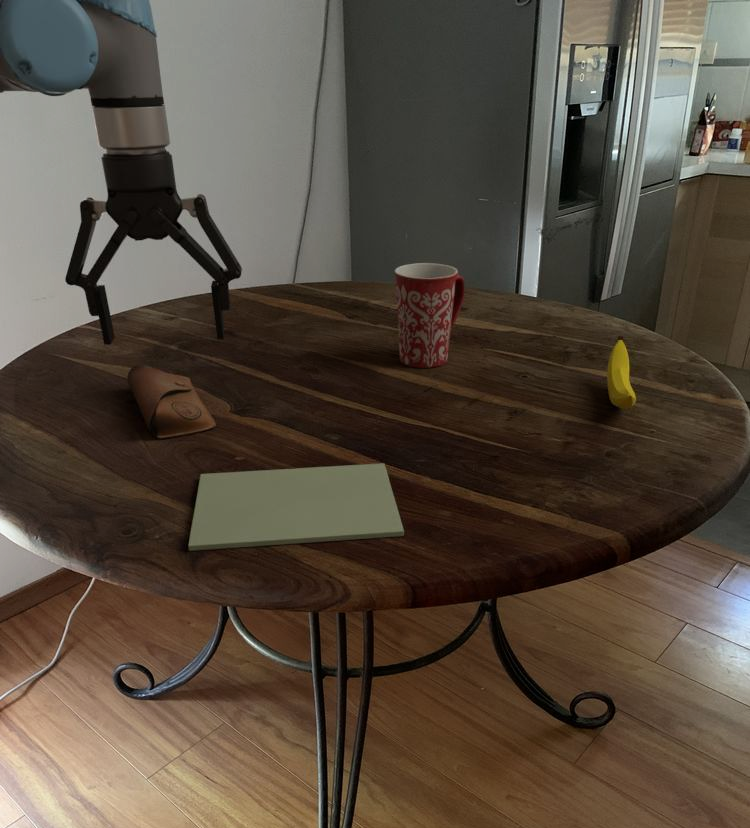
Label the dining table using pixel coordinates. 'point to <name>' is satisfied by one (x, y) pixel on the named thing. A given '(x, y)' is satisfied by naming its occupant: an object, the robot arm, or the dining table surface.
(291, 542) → the mat
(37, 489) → the dining table surface
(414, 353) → the mug
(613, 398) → the banana
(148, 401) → the sunglasses case
